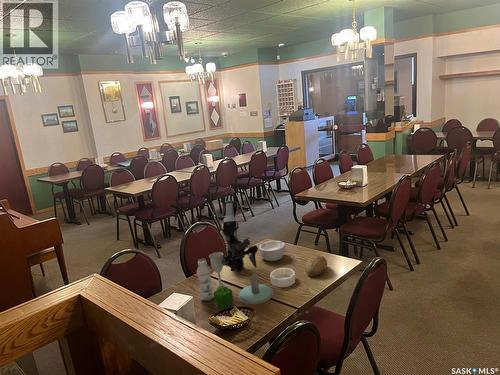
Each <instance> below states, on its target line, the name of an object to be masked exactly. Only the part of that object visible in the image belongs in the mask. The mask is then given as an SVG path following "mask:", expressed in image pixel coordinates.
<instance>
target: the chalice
mask: <svg viewBox="0 0 500 375" xmlns="http://www.w3.org/2000/svg"><path fill="white" fill-rule="evenodd" d="M223 257H224V253H223V252H221V251H217V252H212V253H210V254H209V255H208V258H209V259H210V260H209V261H210V266H211V267H212V269H213V271H214V272H215V273H217V278H218V279H217V281H218V283H217V285H216V290H217V289H218V288H219V287H221V285H222V284H224V282H222V278H221V276H222V275H221V272H222V270H223V268H224V266H223V264H222V259H223ZM225 286H226V285H225V284H224V287H225Z"/></svg>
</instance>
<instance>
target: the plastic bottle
mask: <svg viewBox="0 0 500 375" xmlns="http://www.w3.org/2000/svg"><path fill="white" fill-rule="evenodd" d="M197 265H198V267H197V268H196V276H197V279H198V282H199V297H200V299H201V300H202V301H203V302H208V301H211V300H212V299H214V292H215V291H214V288H213V284H212V279H211V277H212V276H211V272H212V270H211V268H210V266H209V265H208V264H207V259H206V258H200V259H198V260H197Z"/></svg>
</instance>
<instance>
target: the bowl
mask: <svg viewBox="0 0 500 375" xmlns="http://www.w3.org/2000/svg"><path fill="white" fill-rule="evenodd" d="M269 274H270V275H269V276H270V277H269V278H270V284H272V286H274V287H277V288H287V287H290V286H291V287H292V285H293V284H295V283H296V274H295V271H294V270H293V269H292V268H287V267H282V268H281V267H280V268H276V269H274V270H272V271H271V272H270V273H269Z"/></svg>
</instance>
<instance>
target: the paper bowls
mask: <svg viewBox="0 0 500 375" xmlns="http://www.w3.org/2000/svg"><path fill="white" fill-rule="evenodd" d="M258 251H259V256H260V257H261V258H263V259H264V260H266V261H268V262H276V261H278V260H280V259H282V258H283V256H284V255H285V254H286V252H287V251H286V243H285V242H283V241H281V240H269V241H265V242H263V243H261V244H260V245H259V246H258Z"/></svg>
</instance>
